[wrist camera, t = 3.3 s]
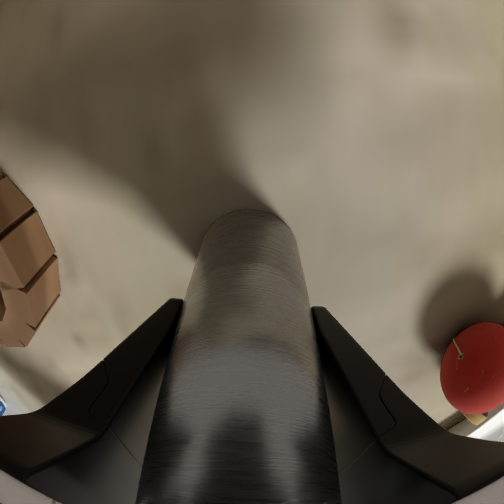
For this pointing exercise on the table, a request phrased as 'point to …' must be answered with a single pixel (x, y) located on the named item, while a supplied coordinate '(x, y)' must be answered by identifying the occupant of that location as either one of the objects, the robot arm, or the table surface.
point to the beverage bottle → (2, 406)
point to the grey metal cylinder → (243, 380)
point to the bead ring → (24, 268)
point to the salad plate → (483, 426)
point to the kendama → (475, 371)
